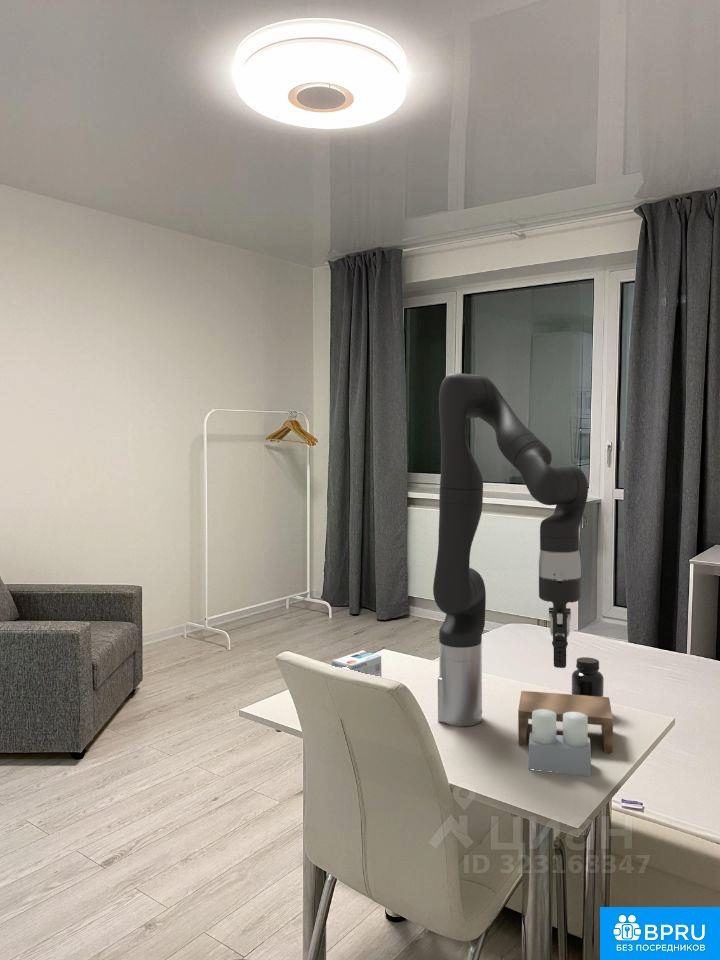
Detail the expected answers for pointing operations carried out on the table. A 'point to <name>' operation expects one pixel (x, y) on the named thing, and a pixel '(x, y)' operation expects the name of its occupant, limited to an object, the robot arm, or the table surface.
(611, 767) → the table surface
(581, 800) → the table surface
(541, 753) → the salt and pepper set
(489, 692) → the table surface
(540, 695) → the walnut shelf
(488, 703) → the table surface
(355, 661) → the light bulb box
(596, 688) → the supplement bottle
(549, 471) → the robot arm
